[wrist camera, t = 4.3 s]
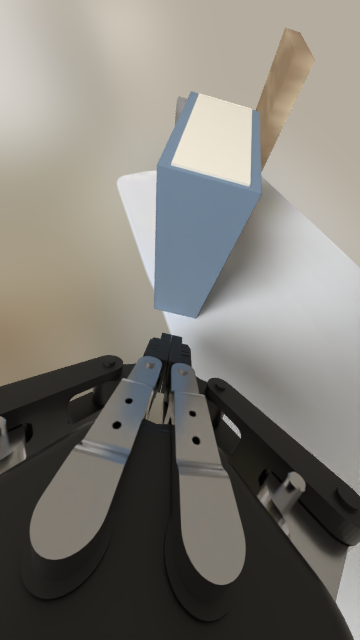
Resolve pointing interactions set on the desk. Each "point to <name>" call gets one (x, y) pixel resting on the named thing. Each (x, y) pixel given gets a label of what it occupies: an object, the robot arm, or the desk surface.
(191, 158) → the book
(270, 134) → the shelf
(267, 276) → the desk surface
